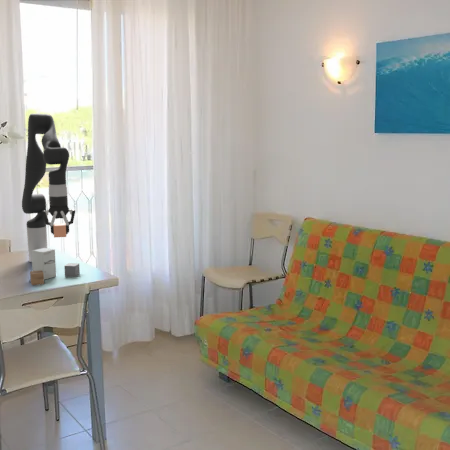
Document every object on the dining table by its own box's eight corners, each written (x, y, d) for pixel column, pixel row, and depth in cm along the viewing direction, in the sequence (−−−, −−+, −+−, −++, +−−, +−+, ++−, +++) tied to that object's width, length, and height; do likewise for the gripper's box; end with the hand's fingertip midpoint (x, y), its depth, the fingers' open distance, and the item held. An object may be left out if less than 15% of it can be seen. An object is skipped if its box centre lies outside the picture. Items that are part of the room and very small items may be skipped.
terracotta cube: (54, 235, 263) (54, 224, 262) (66, 234, 264) (65, 223, 263) (54, 237, 258) (53, 225, 258) (66, 236, 259) (65, 225, 259)
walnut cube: (30, 282, 262) (29, 271, 261) (42, 281, 264) (42, 270, 263) (31, 285, 258) (31, 274, 257) (44, 284, 260) (43, 272, 259)
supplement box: (43, 280, 266) (42, 252, 263) (32, 278, 269) (30, 250, 267) (56, 276, 272) (55, 249, 270) (45, 274, 276) (43, 247, 273)
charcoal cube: (69, 273, 277) (68, 263, 276) (79, 274, 276) (79, 263, 276) (64, 276, 272) (64, 265, 271) (75, 277, 271) (75, 266, 271)
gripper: (75, 193, 263) (77, 231, 266) (41, 194, 260) (43, 233, 263) (75, 195, 256) (77, 234, 259) (40, 196, 253) (42, 236, 256)
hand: (60, 233), depth 261 cm, fingers closed on terracotta cube, 5 cm apart
